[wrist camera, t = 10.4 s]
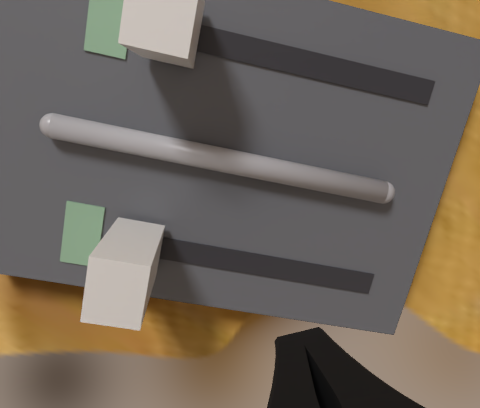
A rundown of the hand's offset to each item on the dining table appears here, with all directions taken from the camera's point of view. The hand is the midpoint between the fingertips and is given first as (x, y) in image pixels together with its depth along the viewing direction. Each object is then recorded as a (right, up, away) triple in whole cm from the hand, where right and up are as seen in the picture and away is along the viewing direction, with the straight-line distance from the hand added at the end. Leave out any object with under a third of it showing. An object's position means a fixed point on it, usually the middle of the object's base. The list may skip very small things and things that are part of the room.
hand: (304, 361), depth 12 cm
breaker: (-4, +11, +4) cm, 13 cm away
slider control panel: (-3, +7, +8) cm, 11 cm away
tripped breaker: (-6, +3, +6) cm, 9 cm away
